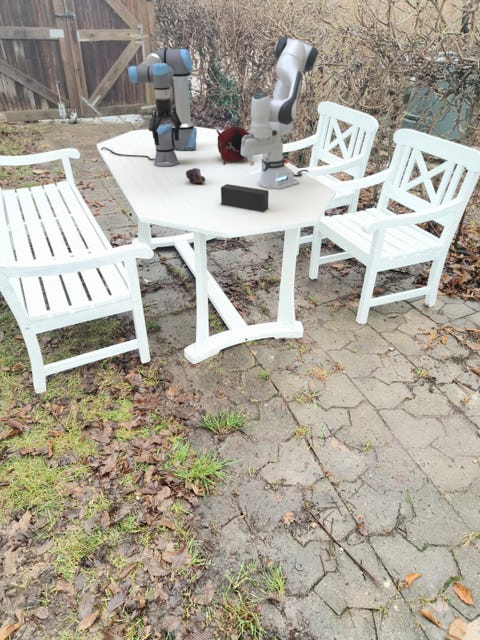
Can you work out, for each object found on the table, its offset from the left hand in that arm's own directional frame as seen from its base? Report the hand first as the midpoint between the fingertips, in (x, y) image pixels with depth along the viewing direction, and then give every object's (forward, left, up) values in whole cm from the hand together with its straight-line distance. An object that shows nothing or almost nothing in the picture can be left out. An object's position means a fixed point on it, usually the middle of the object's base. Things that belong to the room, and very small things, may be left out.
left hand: (167, 142), depth 238 cm
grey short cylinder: (-63, +65, -25) cm, 94 cm away
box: (+49, +7, -25) cm, 56 cm away
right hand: (+57, +9, -2) cm, 58 cm away
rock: (+2, +16, -25) cm, 30 cm away
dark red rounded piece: (-15, +68, -25) cm, 74 cm away
